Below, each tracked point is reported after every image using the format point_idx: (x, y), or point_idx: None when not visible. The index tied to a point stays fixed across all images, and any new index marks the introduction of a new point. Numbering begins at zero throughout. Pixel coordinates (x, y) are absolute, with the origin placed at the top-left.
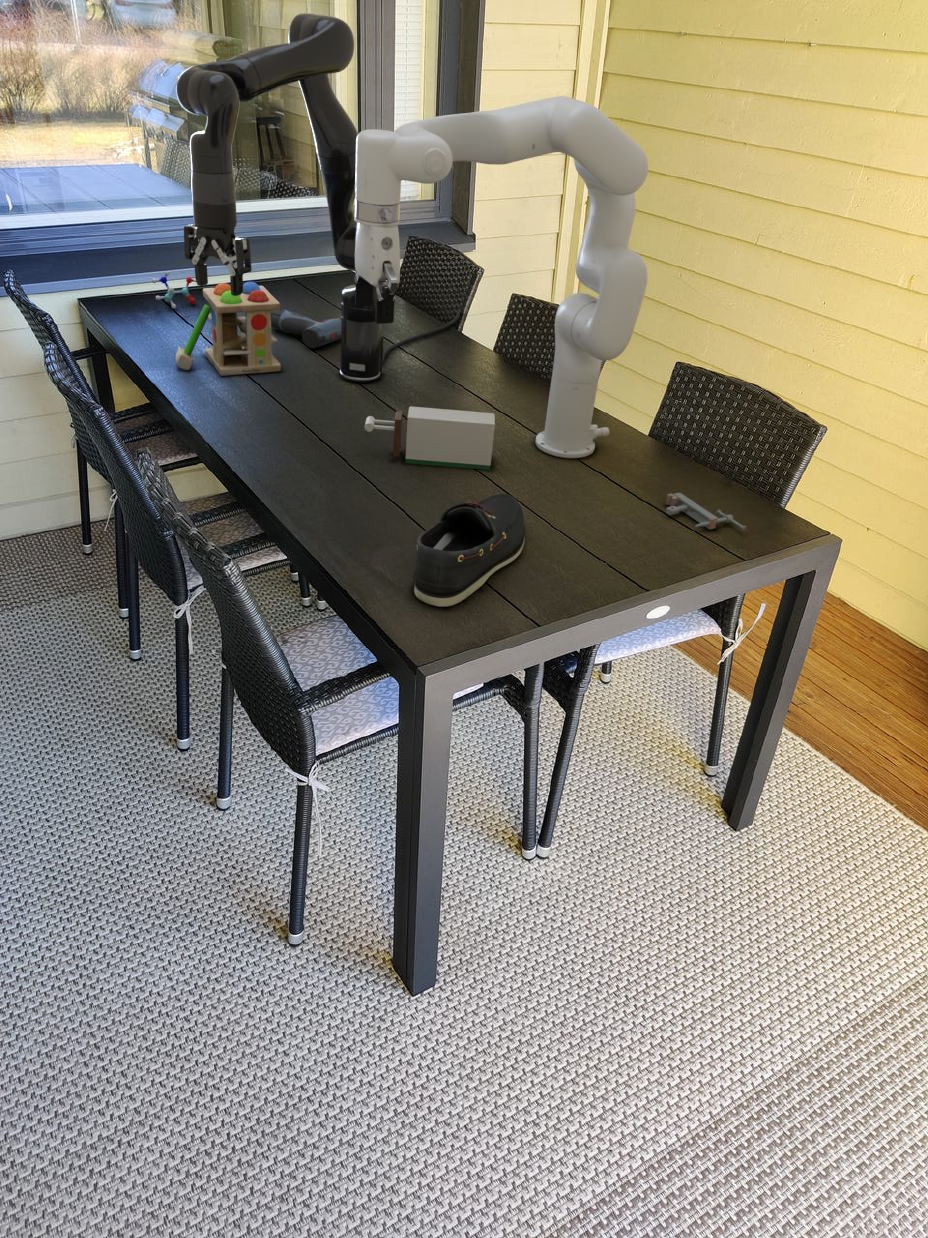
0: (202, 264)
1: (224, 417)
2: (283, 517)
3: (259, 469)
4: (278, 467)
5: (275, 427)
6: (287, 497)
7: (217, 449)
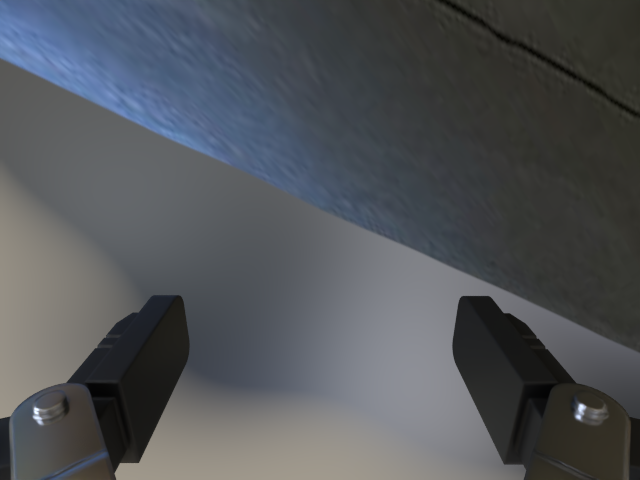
0: (116, 419)
1: (254, 93)
2: (591, 325)
3: (469, 232)
4: (493, 204)
5: (376, 54)
6: (565, 277)
7: (356, 220)
